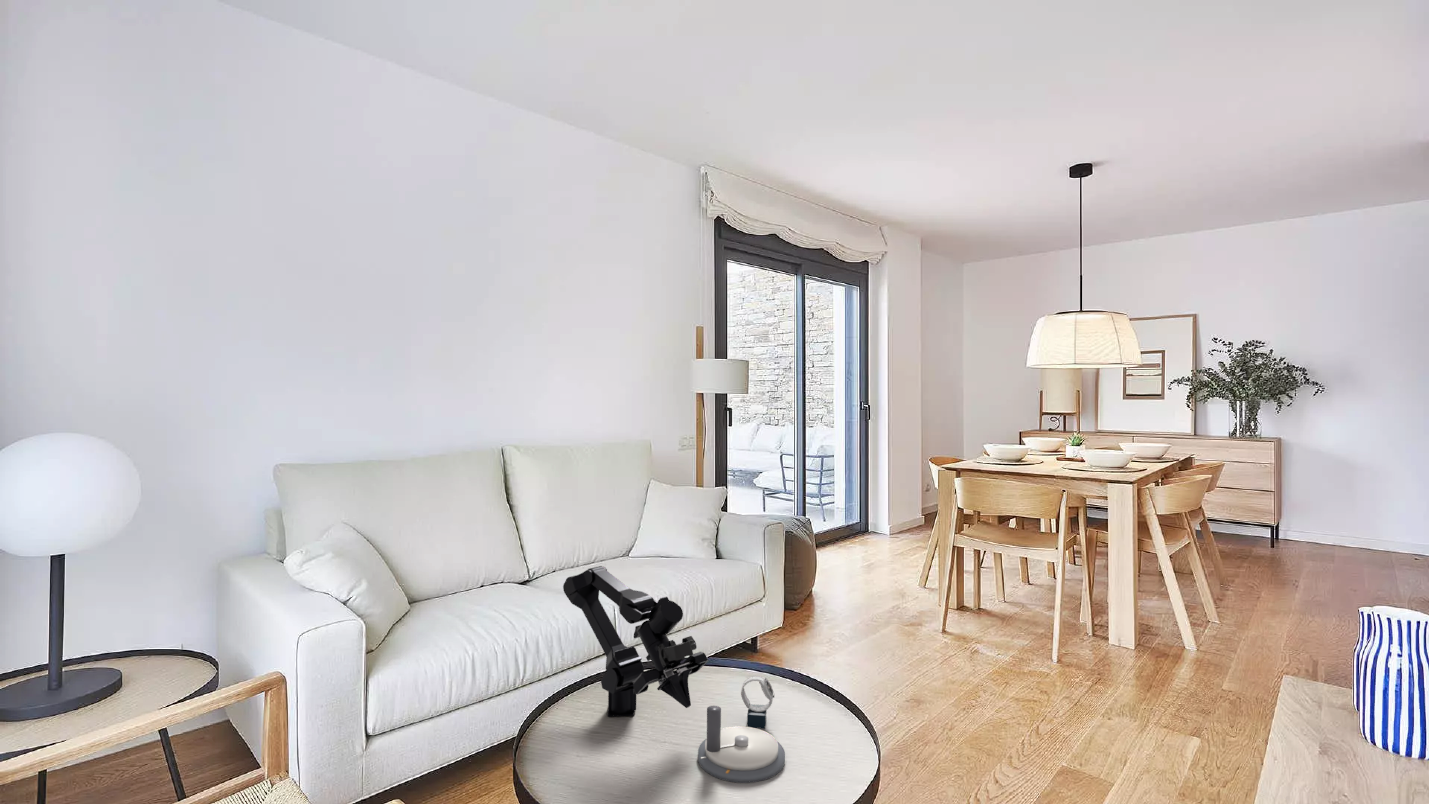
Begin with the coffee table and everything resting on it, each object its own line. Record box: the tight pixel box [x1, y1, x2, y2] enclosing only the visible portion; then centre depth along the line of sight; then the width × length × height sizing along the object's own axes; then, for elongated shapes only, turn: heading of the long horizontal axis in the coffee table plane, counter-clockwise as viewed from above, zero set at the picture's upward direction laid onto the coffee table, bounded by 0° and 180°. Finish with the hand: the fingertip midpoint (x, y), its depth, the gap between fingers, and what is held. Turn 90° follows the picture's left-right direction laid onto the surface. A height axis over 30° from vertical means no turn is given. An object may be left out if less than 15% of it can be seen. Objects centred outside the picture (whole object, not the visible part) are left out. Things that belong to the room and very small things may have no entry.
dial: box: [705, 705, 779, 771], centre depth 160 cm, size 16×16×10 cm
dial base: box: [697, 738, 786, 784], centre depth 161 cm, size 19×19×2 cm
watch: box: [740, 675, 775, 730], centre depth 177 cm, size 6×8×11 cm
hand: (688, 706), depth 164 cm, fingers closed
